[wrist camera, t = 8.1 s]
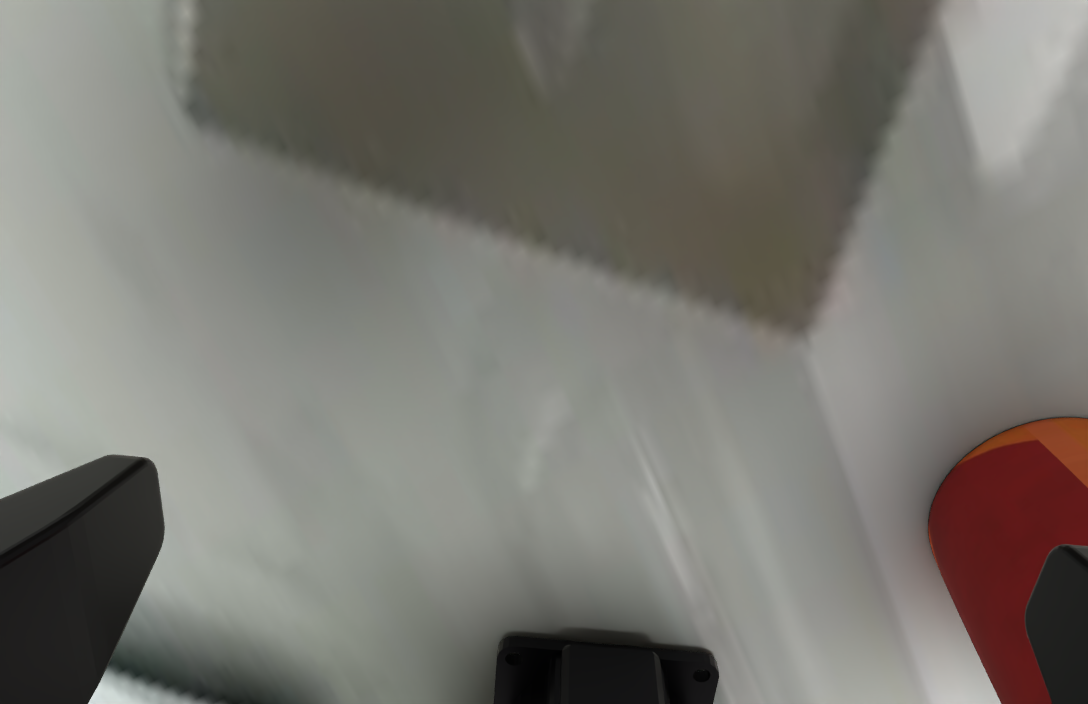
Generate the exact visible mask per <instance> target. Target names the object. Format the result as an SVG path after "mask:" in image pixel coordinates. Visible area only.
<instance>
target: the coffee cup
mask: <svg viewBox="0 0 1088 704" xmlns="http://www.w3.org/2000/svg"><path fill="white" fill-rule="evenodd" d="M928 533H929V540H930V544H931V548H932V552H933V555H934V558H935V560H936V563H937V565H938V568H939V570H940V573H941V575H942V577H943V580H944V582H945V584H946V586H947V589H948V591H949V593H950V595H951V597H952V600H953V602H954V604H955V606H956V609H957V611H958V613H959V615H960V617H961V619H962V621H963V623H964V626H965V628H966V630H967V632H968V634H969V636H970V638H971V640H972V643H973V645H974V647H975V649H976V651H977V653H978V655H979V657H980V660H981V662H982V664H983V666H984V668H985V670H986V672H987V674H988V676H989V679H990V681H991V683H992V685H993V687H994V689H995V691H996V693H997V695H998V697H999V699H1000V702H1001V704H1052V702H1051V699H1050V696H1049V693H1048V691H1047V688H1046V685H1045V682H1044V680H1043V677H1042V674H1041V671H1040V669H1039V666H1038V663H1037V660H1036V658H1035V655H1034V652H1033V649H1032V647H1031V644H1030V641H1029V638H1028V636H1027V632H1026V628H1025V609H1026V606H1027V603H1028V600H1029V598H1030V596H1031V593H1032V591H1033V589H1034V586H1035V584H1036V581H1037V579H1038V577H1039V574H1040V572H1041V570H1042V567H1043V565H1044V563H1045V560H1046V558H1047V556H1048V554H1049V552H1050V551H1051V550H1052V549H1053V548H1054V547H1056V546H1059V545H1061V544H1069V545H1080V546H1088V419H1085V418H1070V417H1069V418H1052V419H1045V420H1039V421H1035V422H1031V423H1027V424H1024V425H1020V426H1018V427H1015V428H1012V429H1010V430H1007V431H1005V432H1003V433H1001V434H998V435H996V436H994V437H993V438H991V439H989V440H987V441H986V442H984V443H983V444H981V445H980V446H978V447H977V448H975V449H974V450H973V451H971V452H970V453H969V454H968V455H966V456H965V457H964V458H963V459H962V460H961V461H960V462H959V463H958V464H957V465H956V466H955V467H954V468H953V469H952V470H951V472H950V473H949V474H948V476H947V477H946V478H945V480H944V481H943V483H942V484H941V486H940V488H939V490H938V491H937V493H936V496H935V498H934V500H933V503H932V506H931V510H930V515H929V523H928Z"/></svg>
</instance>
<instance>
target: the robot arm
mask: <svg viewBox="0 0 1088 704" xmlns="http://www.w3.org/2000/svg"><path fill="white" fill-rule="evenodd" d="M164 530H165V526H164V517H163V509H162V502H161V494H160V487H159V480H158V473H157V469H156V467H155V465H154V463H153V462H152V461H151V460H150V459H148V458H145V457H135V456H124V455H107V456H104V457H101V458H99V459H97V460H94V461H92V462H89V463H87V464H84V465H82V466H80V467H77V468H75V469H72V470H70V471H68V472H65V473H63V474H60V475H58V476H55V477H53V478H51V479H48V480H46V481H43V482H41V483H38V484H36V485H34V486H31V487H29V488H26V489H24V490H21V491H19V492H17V493H14V494H12V495H9V496H7V497H4V498H2V499H0V704H88V702H89V701H90V699H91V697H92V695H93V693H94V692H95V690H96V688H97V686H98V684H99V683H100V680H101V678H102V676H103V674H104V672H105V670H106V668H107V666H108V664H109V662H110V660H111V658H112V656H113V653H114V651H115V649H116V647H117V645H118V642H119V640H120V638H121V636H122V634H123V631H124V629H125V627H126V625H127V623H128V620H129V618H130V616H131V614H132V612H133V609H134V607H135V605H136V603H137V601H138V598H139V596H140V594H141V592H142V590H143V587H144V585H145V583H146V581H147V579H148V576H149V574H150V572H151V570H152V568H153V565H154V563H155V561H156V559H157V557H158V554H159V552H160V549H161V547H162V543H163V539H164ZM1025 628H1026V632H1027V636H1028V638H1029V641H1030V644H1031V647H1032V649H1033V652H1034V655H1035V658H1036V660H1037V663H1038V666H1039V669H1040V671H1041V674H1042V677H1043V680H1044V682H1045V685H1046V688H1047V691H1048V693H1049V696H1050V699H1051V702H1052V704H1088V546H1080V545H1069V544H1061V545H1059V546H1056V547H1054V548H1053V549H1052V550H1051V551H1050V552H1049V554H1048V556H1047V558H1046V560H1045V563H1044V565H1043V567H1042V570H1041V572H1040V574H1039V577H1038V579H1037V581H1036V584H1035V586H1034V589H1033V591H1032V593H1031V596H1030V598H1029V600H1028V603H1027V606H1026V609H1025ZM510 653H518V654H520V655H511V654H510ZM700 669H704V671H700V672H698V671H697V670H700ZM718 679H719V672H718V666H717V662H716V660H715V658H714V657H713V656H711V655H709V654H706V653H701V652H690V651H679V650H667V649H656V648H645V647H633V646H622V645H610V644H599V643H588V642H576V641H565V640H554V639H542V638H531V637H520V636H511V637H507V638H505V639H503V640H502V641H501V642H500V644H499V647H498V654H497V665H496V680H495V695H494V704H713V701H714V697H715V692H716V688H717V683H718Z"/></svg>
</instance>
